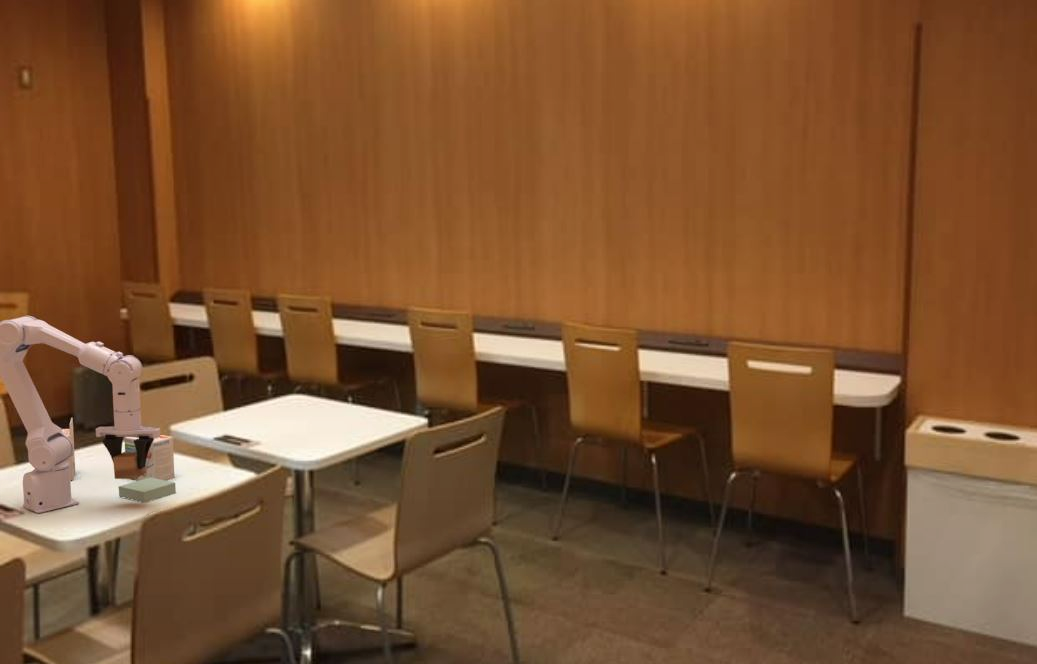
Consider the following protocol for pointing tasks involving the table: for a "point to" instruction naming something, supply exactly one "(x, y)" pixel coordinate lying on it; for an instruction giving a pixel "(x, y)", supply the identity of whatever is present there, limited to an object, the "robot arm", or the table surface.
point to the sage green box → (147, 489)
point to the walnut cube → (127, 466)
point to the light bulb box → (156, 457)
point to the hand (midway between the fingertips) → (130, 467)
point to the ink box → (72, 458)
